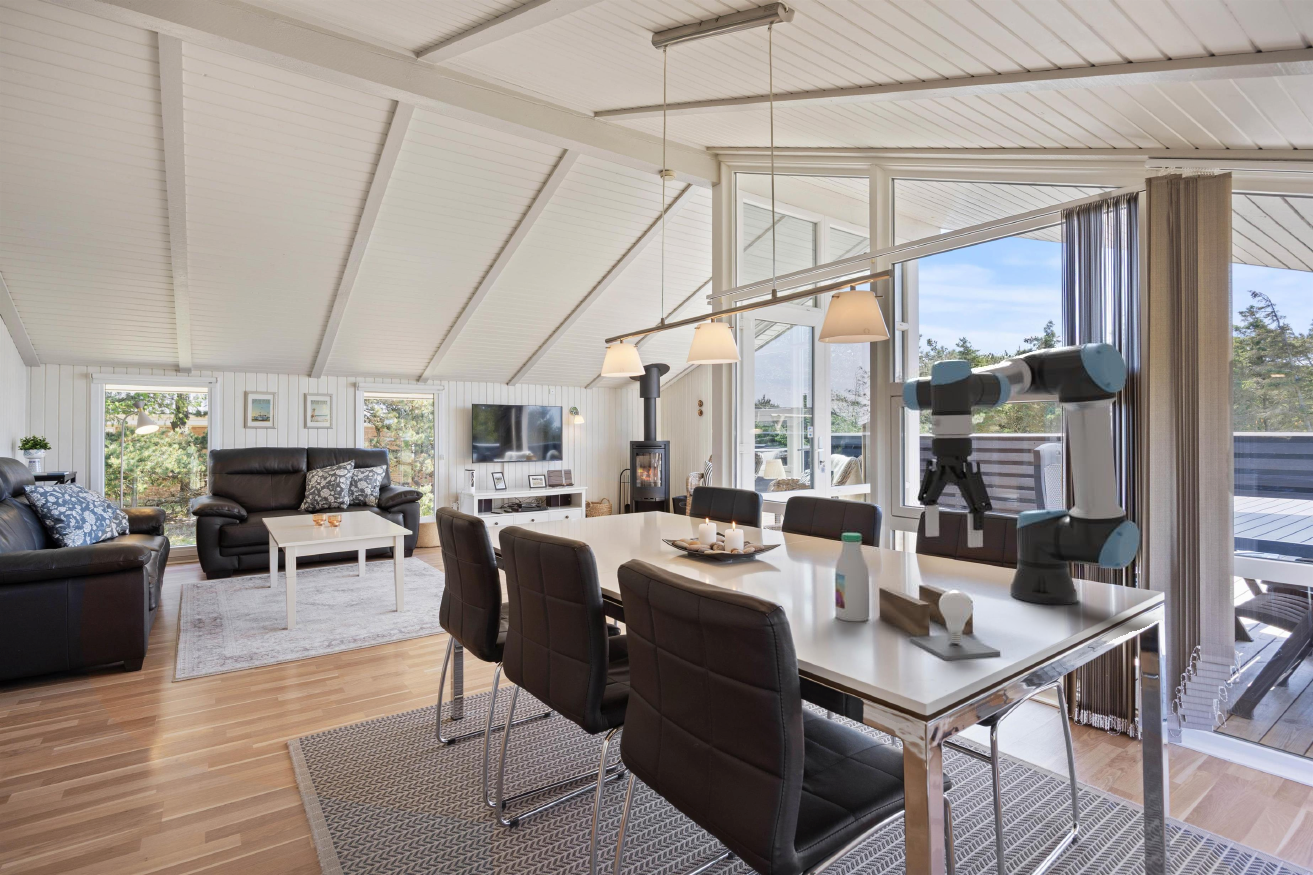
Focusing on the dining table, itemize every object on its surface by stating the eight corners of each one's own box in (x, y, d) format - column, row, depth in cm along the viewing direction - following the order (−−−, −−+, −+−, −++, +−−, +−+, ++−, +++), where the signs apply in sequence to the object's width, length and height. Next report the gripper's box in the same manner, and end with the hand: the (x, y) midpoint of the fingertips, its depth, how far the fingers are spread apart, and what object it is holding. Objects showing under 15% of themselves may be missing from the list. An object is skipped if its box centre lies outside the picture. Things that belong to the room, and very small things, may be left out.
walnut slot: (928, 613, 160) (928, 584, 160) (972, 632, 144) (972, 600, 144) (879, 616, 157) (879, 587, 157) (919, 637, 142) (918, 604, 142)
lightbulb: (975, 651, 130) (977, 595, 130) (941, 648, 132) (942, 593, 131) (967, 640, 136) (969, 587, 136) (934, 637, 138) (936, 585, 137)
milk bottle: (871, 615, 159) (870, 532, 159) (867, 623, 152) (866, 536, 152) (838, 612, 162) (837, 530, 162) (832, 620, 155) (832, 535, 155)
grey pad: (960, 636, 141) (960, 633, 141) (1000, 655, 130) (1000, 651, 130) (909, 641, 139) (909, 637, 139) (945, 660, 127) (945, 656, 127)
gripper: (900, 436, 146) (901, 532, 146) (976, 437, 121) (978, 552, 122) (930, 436, 147) (931, 531, 148) (1012, 436, 123) (1013, 550, 123)
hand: (952, 541), depth 135 cm, fingers open, 13 cm apart
